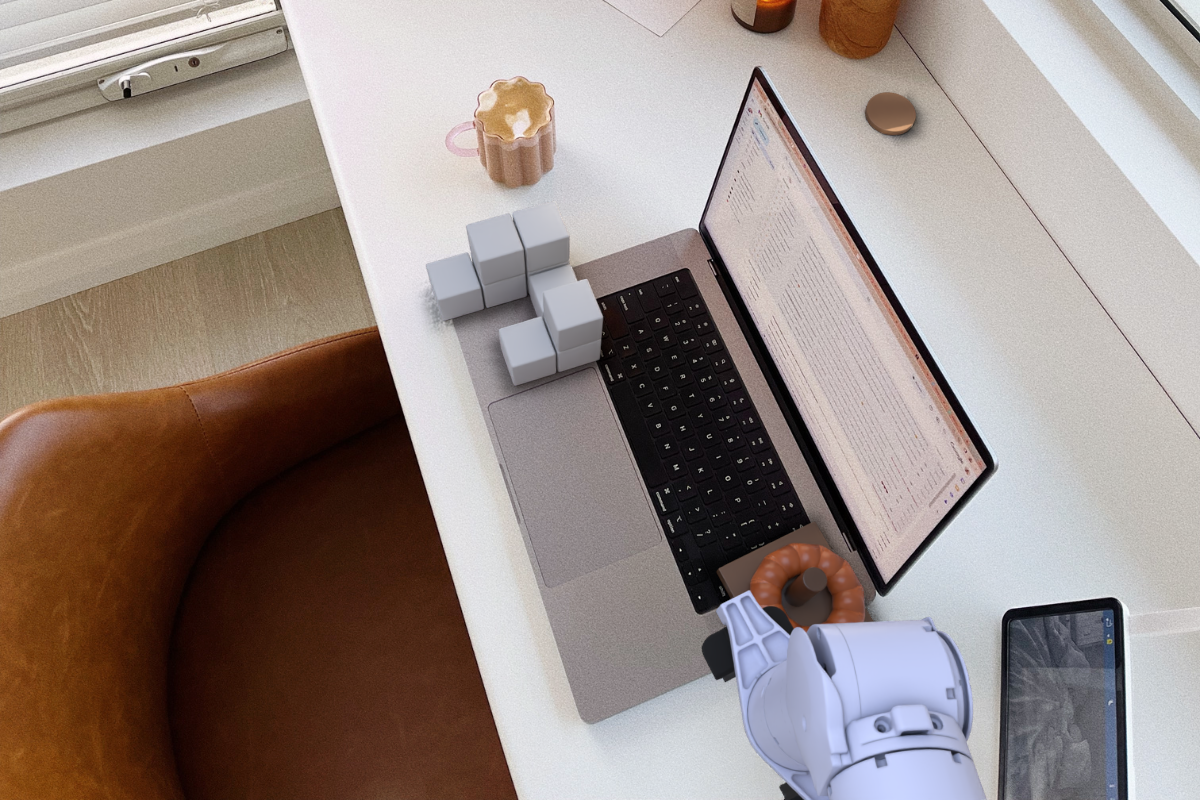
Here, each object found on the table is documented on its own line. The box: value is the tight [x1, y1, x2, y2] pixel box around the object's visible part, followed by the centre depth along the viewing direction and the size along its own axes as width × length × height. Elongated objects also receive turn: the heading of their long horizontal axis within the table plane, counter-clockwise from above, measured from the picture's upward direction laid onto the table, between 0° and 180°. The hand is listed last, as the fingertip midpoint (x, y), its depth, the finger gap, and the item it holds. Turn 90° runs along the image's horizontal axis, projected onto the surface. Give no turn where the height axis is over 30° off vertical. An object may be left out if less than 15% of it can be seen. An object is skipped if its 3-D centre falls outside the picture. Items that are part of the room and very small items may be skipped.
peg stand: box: [716, 521, 875, 626], centre depth 70 cm, size 9×9×7 cm
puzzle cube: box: [425, 200, 604, 387], centre depth 78 cm, size 12×12×8 cm
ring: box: [750, 543, 866, 633], centre depth 70 cm, size 9×9×2 cm
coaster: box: [864, 91, 917, 136], centre depth 92 cm, size 5×5×1 cm
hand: (765, 725), depth 59 cm, fingers open, 7 cm apart
